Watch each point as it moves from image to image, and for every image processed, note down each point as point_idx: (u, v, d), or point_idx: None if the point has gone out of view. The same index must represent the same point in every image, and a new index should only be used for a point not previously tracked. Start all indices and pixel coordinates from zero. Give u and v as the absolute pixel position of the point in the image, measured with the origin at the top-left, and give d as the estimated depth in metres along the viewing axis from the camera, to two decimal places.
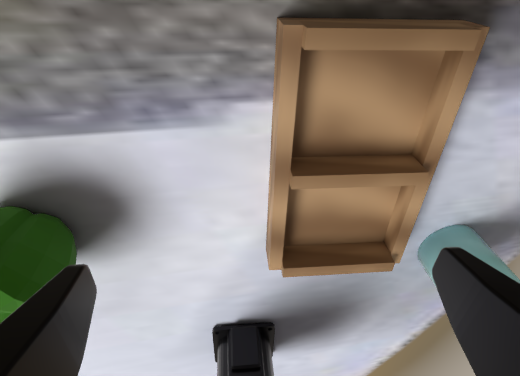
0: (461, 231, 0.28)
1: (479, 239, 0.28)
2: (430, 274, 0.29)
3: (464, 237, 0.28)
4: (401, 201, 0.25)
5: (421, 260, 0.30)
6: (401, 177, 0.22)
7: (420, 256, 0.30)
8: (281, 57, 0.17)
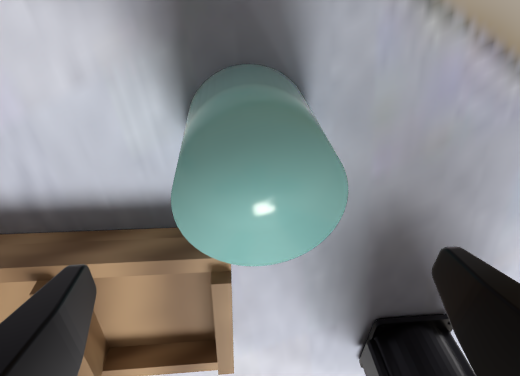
0: None
1: (187, 121, 0.13)
2: None
3: None
4: None
5: None
6: None
7: None
8: None
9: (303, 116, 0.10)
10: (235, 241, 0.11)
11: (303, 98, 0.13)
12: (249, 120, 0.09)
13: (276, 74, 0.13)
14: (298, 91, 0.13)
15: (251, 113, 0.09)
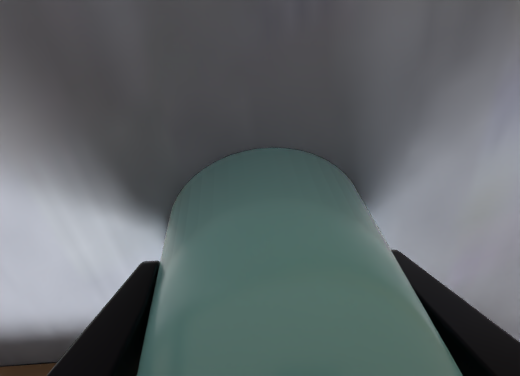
0: None
1: (161, 258, 0.07)
2: None
3: None
4: None
5: None
6: None
7: None
8: None
9: (414, 335, 0.04)
10: None
11: (369, 213, 0.07)
12: None
13: (321, 171, 0.07)
14: (358, 198, 0.08)
15: None
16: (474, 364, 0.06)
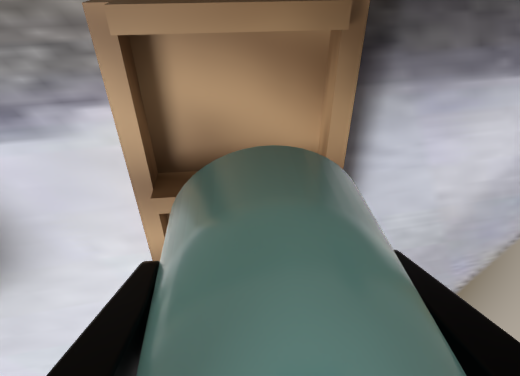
0: None
1: (161, 256, 0.07)
2: None
3: None
4: None
5: None
6: None
7: None
8: None
9: (416, 333, 0.04)
10: None
11: (370, 211, 0.07)
12: None
13: (322, 169, 0.07)
14: (359, 196, 0.08)
15: (304, 374, 0.04)
16: (474, 364, 0.06)
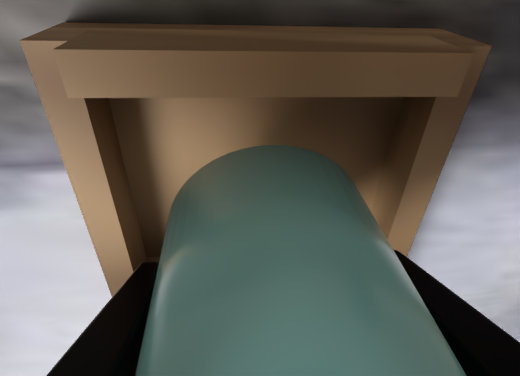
0: None
1: (161, 256, 0.07)
2: None
3: None
4: None
5: None
6: None
7: None
8: (48, 107, 0.08)
9: (416, 333, 0.04)
10: None
11: (370, 211, 0.07)
12: None
13: (321, 168, 0.07)
14: (359, 196, 0.08)
15: (304, 374, 0.04)
16: (474, 364, 0.06)
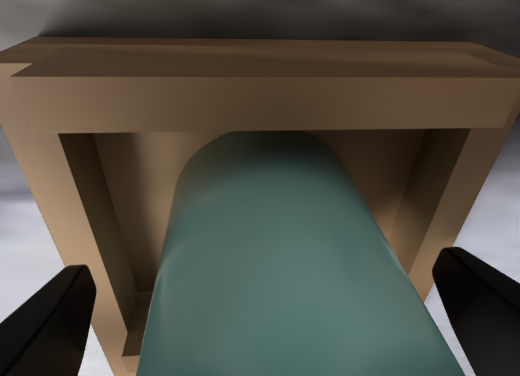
0: None
1: (168, 221, 0.08)
2: None
3: None
4: None
5: None
6: None
7: None
8: None
9: (381, 266, 0.05)
10: None
11: (353, 183, 0.08)
12: (286, 315, 0.04)
13: (310, 145, 0.08)
14: (344, 170, 0.09)
15: (287, 287, 0.04)
16: None
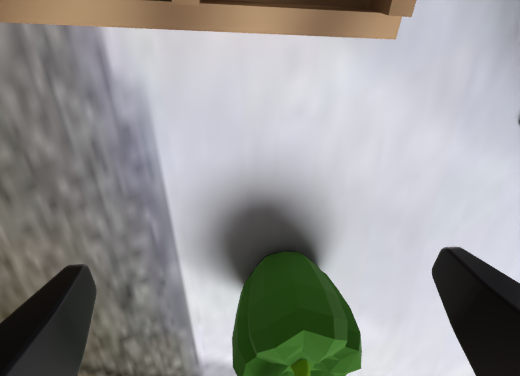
0: None
1: None
2: None
3: None
4: None
5: None
6: None
7: None
8: None
9: None
10: None
11: None
12: None
13: None
14: None
15: None
16: None
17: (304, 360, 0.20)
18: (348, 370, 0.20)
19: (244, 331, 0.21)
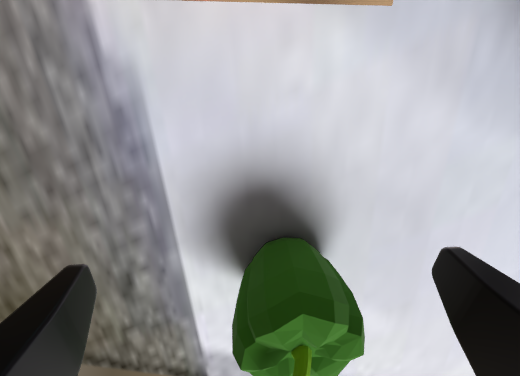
0: None
1: None
2: None
3: None
4: None
5: None
6: None
7: None
8: None
9: None
10: None
11: None
12: None
13: None
14: None
15: None
16: None
17: (304, 346, 0.20)
18: (350, 356, 0.20)
19: (243, 317, 0.21)
